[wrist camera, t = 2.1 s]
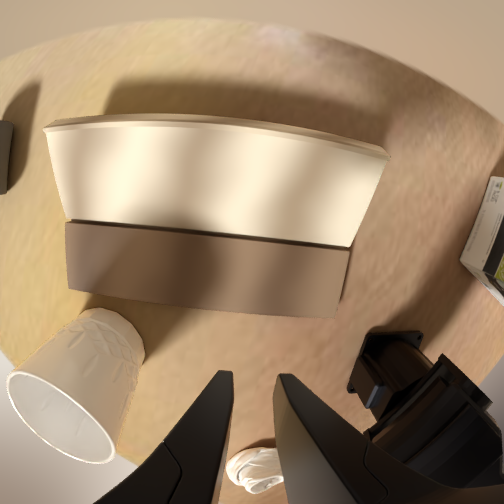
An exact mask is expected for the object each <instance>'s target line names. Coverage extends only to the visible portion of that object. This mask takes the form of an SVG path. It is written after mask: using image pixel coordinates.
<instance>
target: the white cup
mask: <svg viewBox="0 0 504 504" xmlns="http://www.w3.org/2000/svg"><path fill="white" fill-rule="evenodd" d="M144 358H145V351H144V346H143V341H142V338H141V337H140V335H139V334H138V332H137V331H136V329H135V328H134V326H133V325H132V324H131V323H130V322H129V321H127V320H126V319H125V318H123V317H122V316H121V315H120V314H118V313H117V312H114V311H111V310H107V309H104V308H101V307H99V308H93V309H88V310H85V311H84V312H82V313H81V314H80V315H79V316H78V317H77V318H75V319H74V320H73V321H72V322H71V323H69V324H67V325H65V326H64V327H62V328H61V329H60V330H58V331H57V332H56V333H55V334H53V335H52V336H51V337H50V338H48V339H47V340H46V341H45V342H44V343H43V344H42V345H40V346H39V347H38V348H37V349H36V350H35V351H34V352H33V353H31V354H30V355H29V356H28V357H27V358H26V359H25V360H24V361H23V362H22V363H20V364H19V365H18V366H17V367H16V368H15V369H14V370H13V371H12V372H11V373H10V374H9V375H8V377H7V380H6V388H7V392H8V395H9V398H10V400H11V402H12V404H13V406H14V408H15V410H16V411H17V413H18V414H19V415H20V417H21V418H22V420H23V421H24V422H25V423H26V424H27V425H28V426H29V428H30V429H31V430H32V431H34V432H35V433H36V434H37V435H38V436H39V437H40V438H41V439H43V440H44V441H45V442H47V443H48V444H49V445H51V446H52V447H54V448H55V449H57V450H58V451H60V452H62V453H64V454H66V455H68V456H70V457H72V458H75V459H78V460H81V461H84V462H88V463H95V464H102V463H107V462H109V461H111V460H112V459H113V458H114V457H115V455H116V451H117V447H118V444H119V440H120V437H121V434H122V430H123V427H124V424H125V421H126V417H127V414H128V411H129V408H130V405H131V402H132V399H133V396H134V392H135V388H136V385H137V383H138V375H139V371H140V369H141V366H142V363H143V360H144Z"/></svg>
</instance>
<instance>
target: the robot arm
mask: <svg viewBox="0 0 504 504" xmlns="http://www.w3.org/2000/svg"><path fill="white" fill-rule="evenodd" d="M418 336H419V337H418ZM370 338H372V339H371V340H369V339H370ZM422 339H423V333H422V332H420V331H409V332H380V333H369V334H367V335H366V336H365V339H364V342H363V345H362V348H361V351H360V353H359V356H358V357H357V360H356V362H355V365H354V368H353V371H352V373H351V376H350V380H349V383H348V385H347V391H348V393H351V394H352V393H357V394H358V396H359V398H360V399H361V401H362V403H363V405H364V407H365V408H366V409H369V408H370V410H371V412H372V414H373V415H374V417H375V419H376V421H377V423H376V424H374V425H373V426H372V427H371V428H370V429H369V428H368V429H367V430H366V431H365V432H363V434H362V433H360V432H359V431H358V430H357V429H355V428H354V427H353V426H352V425H351V424H349V423H348V422H347V421H346V420H345V419H343V418H342V417H341V416H340V415H339V414H337V413H336V412H335V411H334V410H333V409H332V408H330V407H329V406H328V405H327V404H326V403H325V402H323V401H322V400H321V399H320V398H319V397H318V396H317V395H315V394H314V393H313V392H312V391H311V390H310V389H309V388H308V387H306V386H305V385H304V384H303V383H302V382H301V381H300V380H299V379H298V378H296V377H295V376H294V375H293V374H282V373H281V374H279V375H278V376H277V379H276V384H275V388H274V392H273V412H274V427H275V440H276V447H277V452H278V456H279V461H280V466H281V470H282V475H283V480H284V484H285V489H286V493H287V498H288V502H289V504H504V464H503V463H502V454H503V452H502V434H501V430H500V428H499V426H498V424H497V423H496V421H495V419H494V418H493V417H492V416H491V415H490V414H489V413H488V412H487V411H486V410H487V409H488V408H489V407H490V406H491V404H492V403H493V402H492V401H491V400H490V399H489V398H488V397H487V396H486V395H485V394H484V393H483V392H482V391H481V390H480V389H479V388H478V387H477V386H476V385H475V384H474V383H473V382H472V381H471V380H470V379H469V378H468V377H467V376H466V375H465V374H464V373H463V372H462V371H461V370H460V369H459V368H458V367H457V366H456V365H455V364H453V363H452V362H451V361H450V360H449V359H448V358H447V357H446V356H445V355H444V354H443V353H442V354H441V355H440V357H439V358H438V361H437V362H436V363H435V364H433V363H432V362H431V361H430V360H429V359H428V358H427V357H426V356H425V355H424V354H423V353H422V352H421V351H420V350H419V346H420V344H421V341H422ZM233 404H234V383H233V372H232V371H224V370H219V371H218V372H217V373H216V374H215V375H214V377H213V378H212V379H211V381H210V382H209V383H208V384H207V386H206V387H205V388H204V390H203V391H202V392H201V394H200V395H199V396H198V397H197V399H196V400H195V401H194V402H193V404H192V405H191V406H190V408H189V409H188V410H187V411H186V413H185V414H184V415H183V416H182V418H181V419H180V420H179V421H178V423H177V424H176V425H175V426H174V427H173V429H172V430H171V431H170V432H169V434H168V435H167V436H166V437H165V438H164V440H163V442H161V443H160V444H159V445H158V447H157V448H156V449H155V450H154V451H153V453H152V454H151V455H150V456H149V457H148V458H147V459H146V460H145V461H144V462H143V463H142V464H141V465H140V466H139V467H138V468H137V469H136V470H135V471H134V472H132V473H131V474H130V475H129V476H128V477H127V478H125V479H124V480H123V481H122V482H120V483H119V484H118V485H117V486H115V487H114V488H113V489H112V490H110V491H109V492H108V493H106V494H105V495H104V496H102V497H101V498H100V499H99V500H97V501H96V502H94V503H93V504H218V501H219V495H220V490H221V484H222V478H223V473H224V467H225V462H226V456H227V450H228V444H229V436H230V428H231V420H232V412H233Z"/></svg>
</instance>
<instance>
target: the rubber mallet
mask: <svg viewBox="0 0 504 504" xmlns="http://www.w3.org/2000/svg"><path fill="white" fill-rule="evenodd" d="M13 126H14V124H13V123H12V122H8V121H1V120H0V195H2V194H6V193H7V175H8V163H9V153H10V145H11V138H12V132H13Z"/></svg>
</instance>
